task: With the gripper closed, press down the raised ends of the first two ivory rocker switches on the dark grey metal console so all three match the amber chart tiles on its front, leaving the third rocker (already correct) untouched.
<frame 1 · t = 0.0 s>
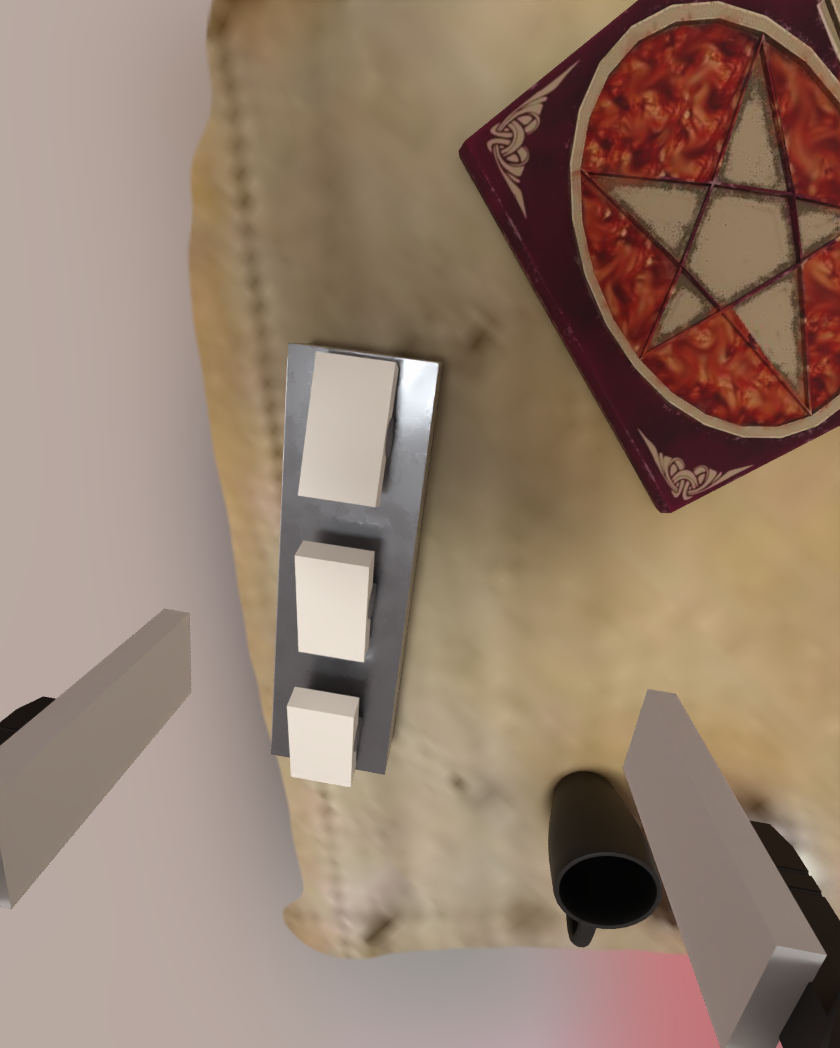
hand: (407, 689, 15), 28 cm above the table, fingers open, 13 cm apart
mug: (577, 807, 51), on the table
console: (356, 561, 45), on the table
rocker 2: (337, 598, 38), point 7 cm above the table, hinge at 14.0°
book: (703, 256, 36), on the table
rocker 1: (350, 432, 34), point 7 cm above the table, hinge at -14.0°
rocker 3: (326, 731, 42), point 7 cm above the table, hinge at 14.0°
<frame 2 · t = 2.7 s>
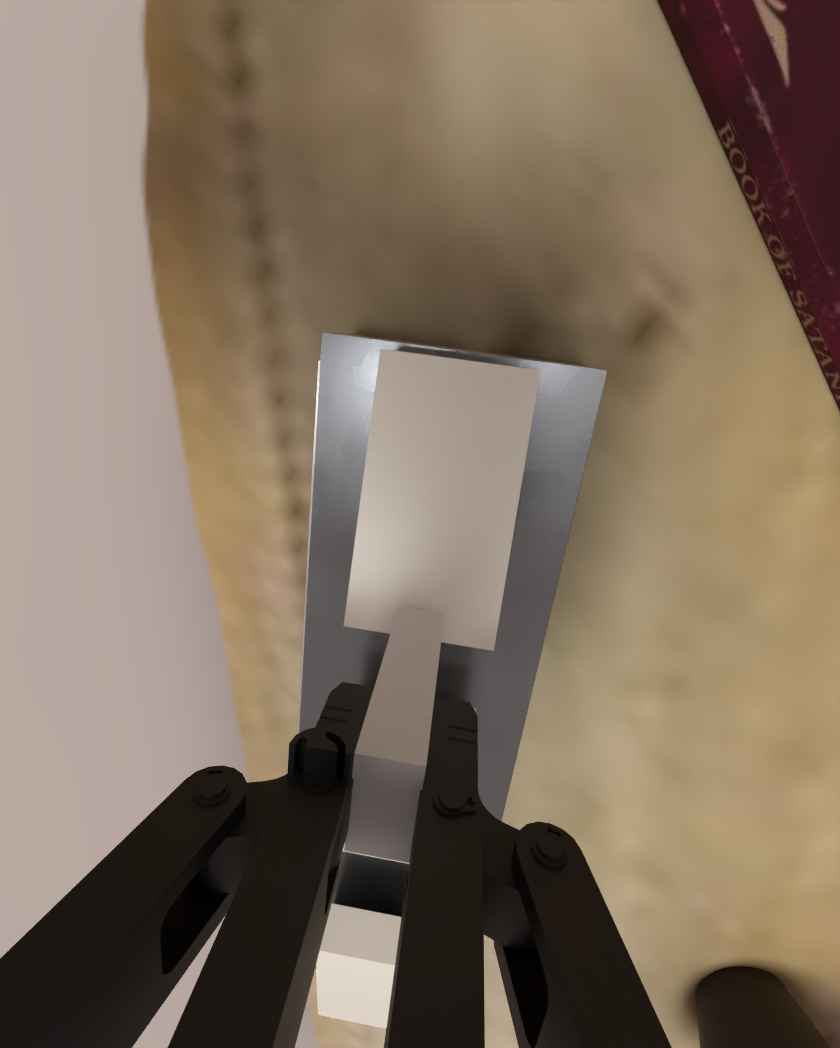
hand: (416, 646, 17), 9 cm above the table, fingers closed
mug: (727, 1009, 35), on the table
console: (418, 675, 29), on the table
rocker 2: (401, 770, 22), point 7 cm above the table, hinge at 14.0°
rocker 1: (439, 500, 18), point 7 cm above the table, hinge at -13.4°, touching gripper
rocker 3: (374, 956, 27), point 7 cm above the table, hinge at 14.0°
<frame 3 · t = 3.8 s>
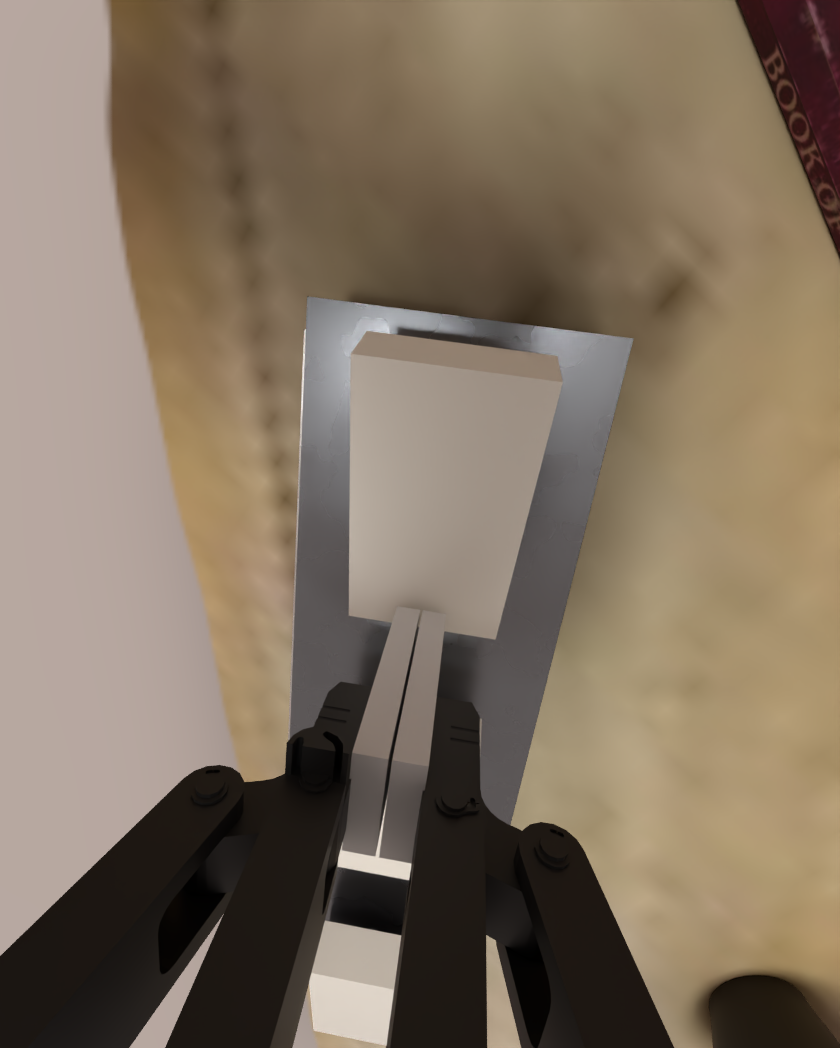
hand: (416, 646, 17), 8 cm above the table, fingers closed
mug: (741, 1017, 34), on the table
console: (418, 674, 27), on the table
rocker 2: (399, 782, 21), point 7 cm above the table, hinge at 14.0°
rocker 1: (441, 491, 16), point 7 cm above the table, hinge at 16.0°, touching gripper
rocker 3: (372, 972, 25), point 7 cm above the table, hinge at 14.0°
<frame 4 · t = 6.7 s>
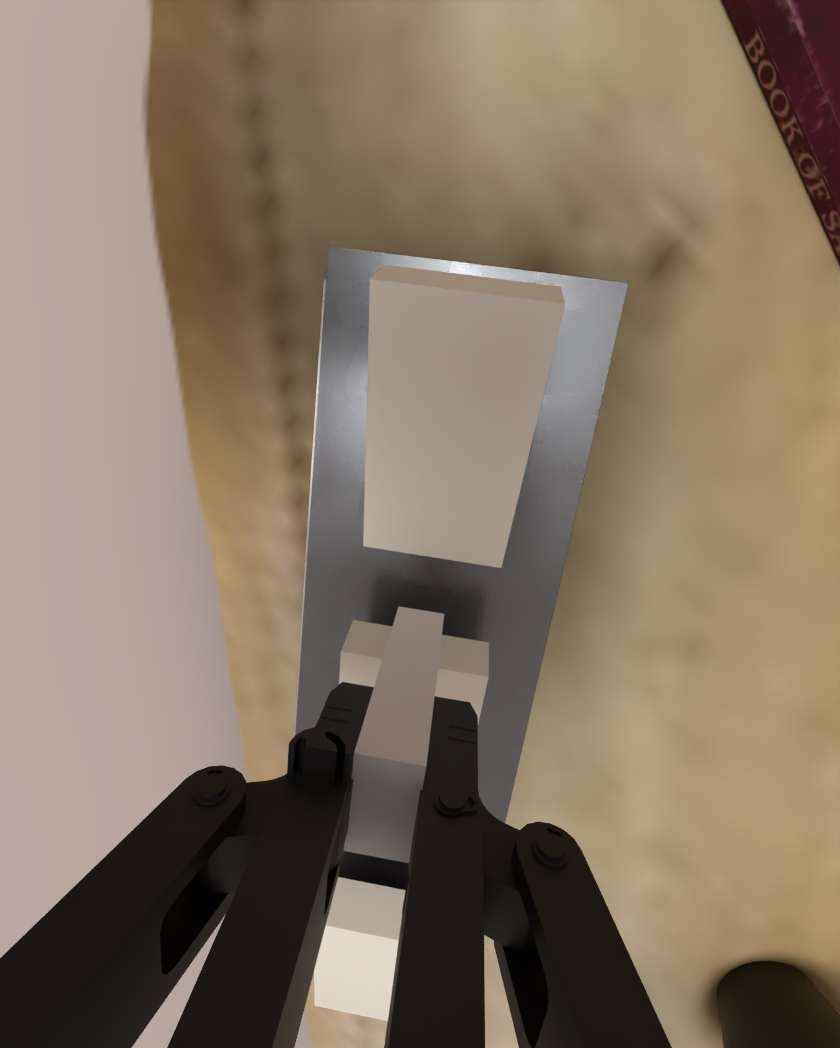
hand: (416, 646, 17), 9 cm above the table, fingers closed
mug: (750, 1009, 33), on the table
console: (423, 639, 27), on the table
rocker 2: (407, 725, 21), point 7 cm above the table, hinge at 8.7°, touching gripper
rocker 1: (450, 424, 17), point 7 cm above the table, hinge at 19.9°, touching console
rocker 3: (376, 938, 25), point 7 cm above the table, hinge at 14.0°
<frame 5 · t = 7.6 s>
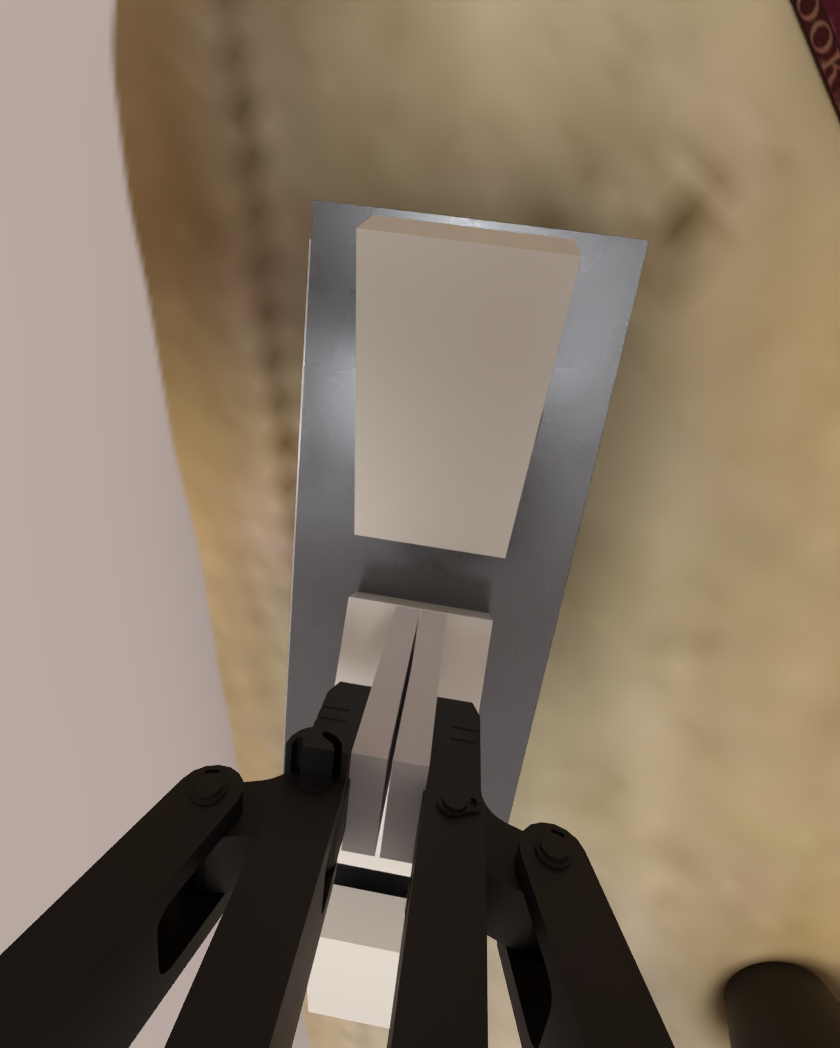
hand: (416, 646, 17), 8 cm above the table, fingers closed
mug: (758, 1009, 32), on the table
console: (421, 632, 26), on the table
rocker 2: (403, 723, 20), point 7 cm above the table, hinge at -20.1°, touching console
rocker 1: (450, 399, 16), point 7 cm above the table, hinge at 19.9°, touching console
rocker 3: (372, 944, 24), point 7 cm above the table, hinge at 14.0°
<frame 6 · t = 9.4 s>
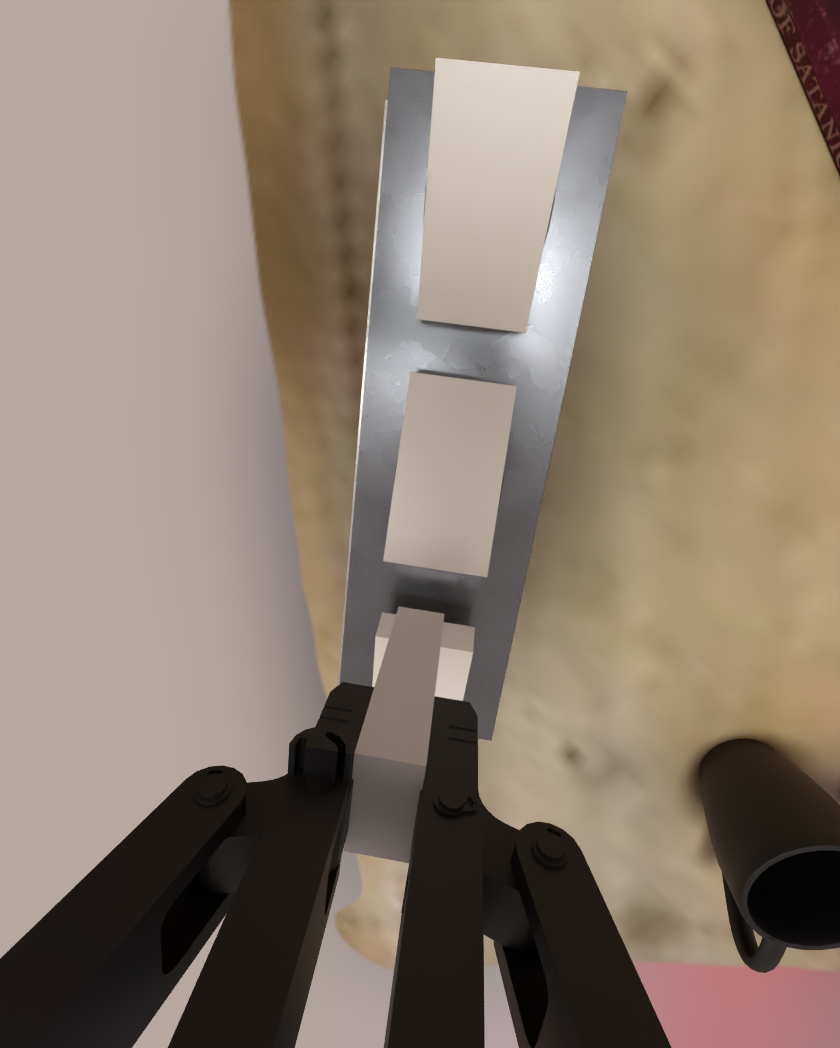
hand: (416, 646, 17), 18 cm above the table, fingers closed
mug: (727, 786, 39), on the table
console: (454, 451, 33), on the table
rocker 2: (449, 476, 26), point 7 cm above the table, hinge at -16.6°
rocker 1: (488, 206, 22), point 7 cm above the table, hinge at 19.9°, touching console
rocker 3: (419, 679, 30), point 7 cm above the table, hinge at 14.0°
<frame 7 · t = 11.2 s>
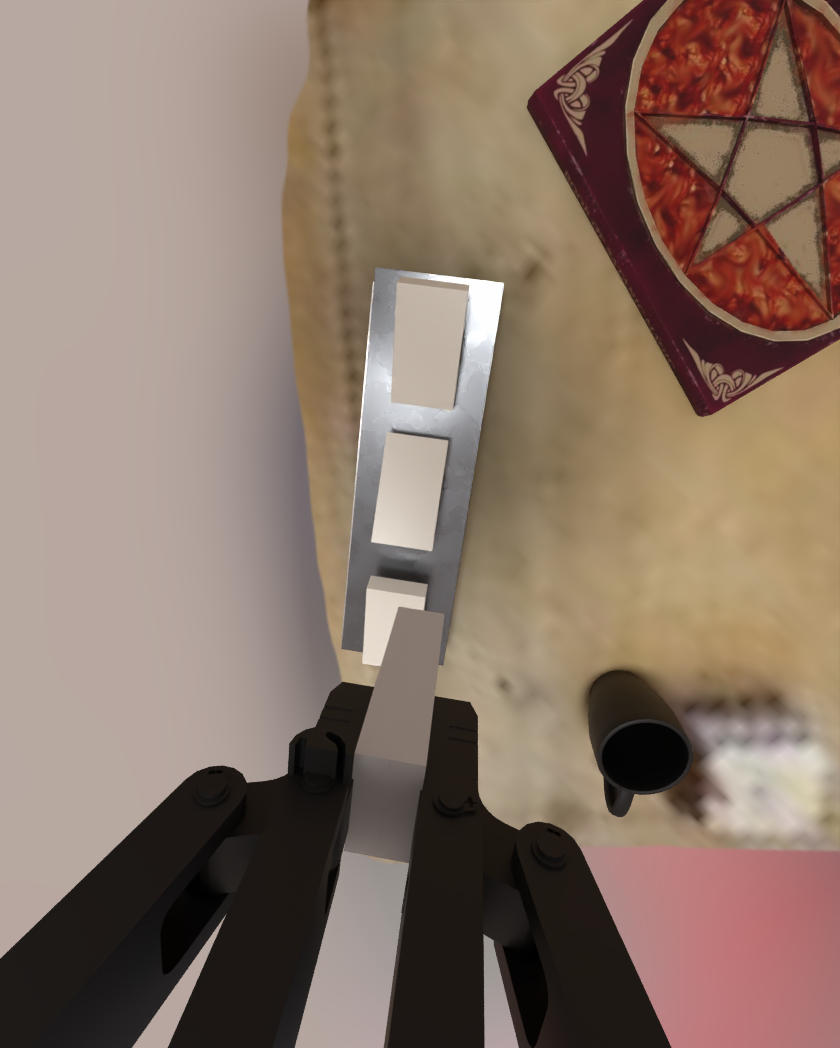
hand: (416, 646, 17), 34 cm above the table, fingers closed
mug: (611, 706, 56), on the table
console: (418, 475, 51), on the table
rocker 2: (410, 492, 44), point 7 cm above the table, hinge at -15.6°
book: (735, 188, 42), on the table
rocker 1: (429, 343, 41), point 7 cm above the table, hinge at 19.9°, touching console
rocker 3: (395, 620, 48), point 7 cm above the table, hinge at 14.0°
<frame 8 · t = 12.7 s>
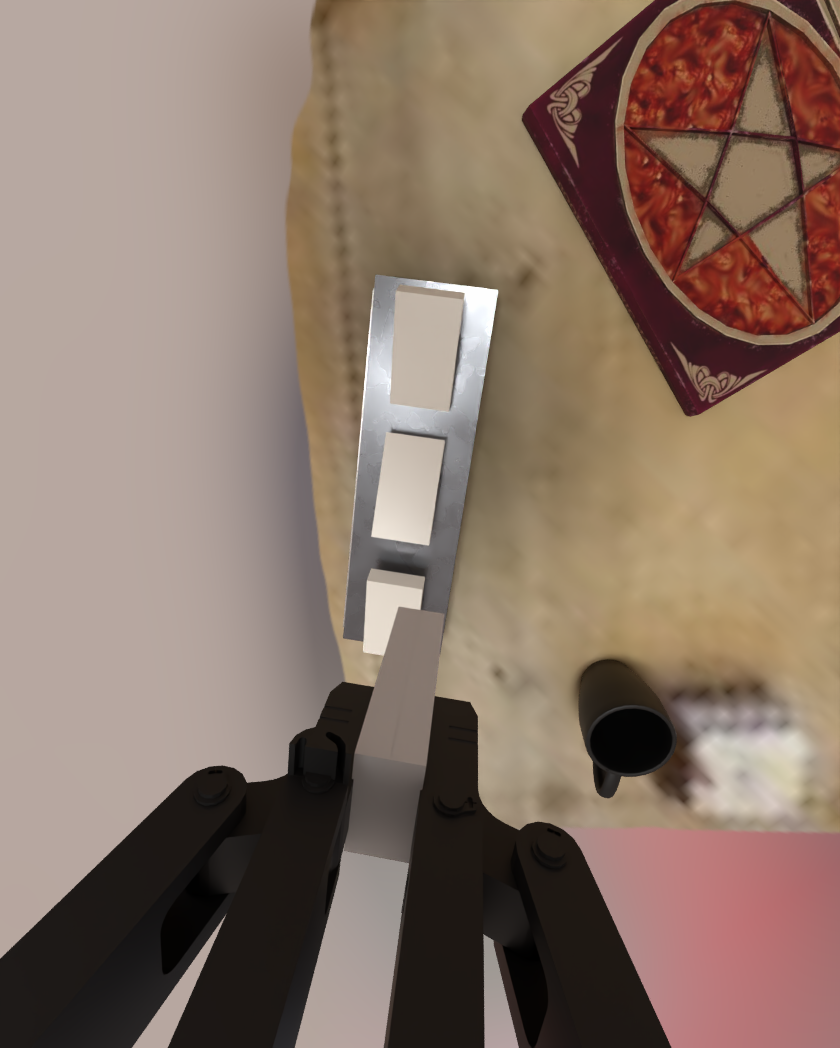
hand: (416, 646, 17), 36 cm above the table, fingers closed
mug: (601, 694, 59), on the table
console: (417, 472, 53), on the table
rocker 2: (409, 489, 46), point 7 cm above the table, hinge at -15.5°
book: (722, 197, 44), on the table
rocker 1: (426, 348, 43), point 7 cm above the table, hinge at 19.9°, touching console
rocker 3: (394, 611, 50), point 7 cm above the table, hinge at 14.0°
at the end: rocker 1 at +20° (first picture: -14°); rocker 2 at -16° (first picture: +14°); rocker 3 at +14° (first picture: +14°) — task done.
